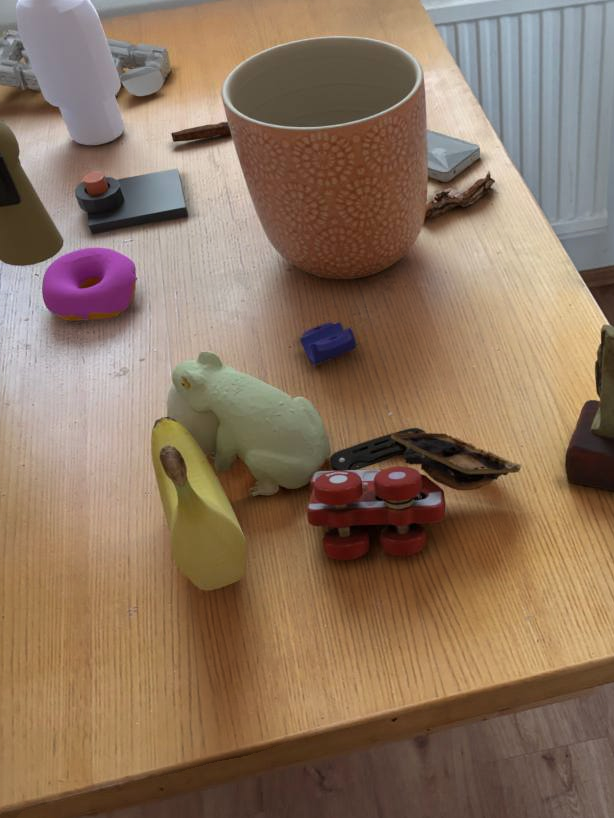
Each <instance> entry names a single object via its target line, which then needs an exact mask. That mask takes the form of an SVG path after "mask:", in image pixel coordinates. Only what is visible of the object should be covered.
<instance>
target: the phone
mask: <svg viewBox="0 0 614 818" xmlns="http://www.w3.org/2000/svg"><path fill="white" fill-rule="evenodd" d="M427 147H428V179H429V178H430V179H433V180H436V181H438V182H441V183H448V182H450V181H451V180H453V179H454V178H455V177H456V176H458V175H459V174H461V173H462V172H463V171H465V170H466V169H467V168H468V167H470V166H471V165H472V164H473V163H475V162H476V161H477V160H478V159H479V158H480V156H481V148H480V145H479V144H477V143H473V142H471V141H467V140H463V139H460V138H457V137H454V136H450V135H448V134H443V133H440V132H437V131H433V130H431V129H427Z"/></svg>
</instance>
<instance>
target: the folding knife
mask: <svg viewBox="0 0 614 818" xmlns="http://www.w3.org/2000/svg"><path fill="white" fill-rule="evenodd" d="M397 432H398V433H407V432H412V433H414V434H417V433H421V432H425V433H427V432H426V431H425V430H423V429H421V428H420V427H419V428H418V427H410V428H406V429H402V430H399V431H397ZM394 441H395V440H393V439H392V438H391V433H389V434H385V435H382V436H379V437H375V438H372V439H369V440H367V441H363V442H361V443H357V444H355V445H352V446H349V447H346V448H343V449H340V450H338V451H336V452H334V453H333V454H332V455H330V456H329V457H330V458H329V463H330V467H331V469H332V471H341V470H362V469H363V468H367V467H369V466H373V465H375V464H376V465H377V464H379V463H382V462H385V461H387V460H390V459H393V458H395V457H399V456H404V452H403V451H402V450H401V449H400V447H399V446H398V445H395V444H394Z"/></svg>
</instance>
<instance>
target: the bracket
mask: <svg viewBox="0 0 614 818" xmlns="http://www.w3.org/2000/svg"><path fill="white" fill-rule="evenodd" d="M299 341H300V343H301V345H302V348H303V350H304V352H305V354H306V356H307V357H308V359H309V361H310V363H311V364H312V366H314V367H315V366H318V365H320V364H323V363H325V362H327V361H330V360H332V359H334V358H337V357H339V356H343V355H344V354H347V353H349V352H351V351H353V350H356V349H357V342H356V341H357V340H356V338H355V334H354V331H353V328H352V327H348V328H346V329H344V327H343V325H342V323H341V322H340V321H338V322H336V323H334V322H327V323H323V324H320V325H318V326H315V327H312V328H309V329H308V330H306V331H304V332H303V333H302V337H299Z"/></svg>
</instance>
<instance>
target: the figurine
mask: <svg viewBox="0 0 614 818" xmlns="http://www.w3.org/2000/svg"><path fill="white" fill-rule="evenodd" d="M171 381H172V382H171V385H170V388H169V390H168V393H167V400H166V417H168V416H169V417H170V418H172V419H175V420H176V421H178V422H180V423H181V424H182V425H183V426H184V427H185V428H186V429H187V430H188V431H189V432H190V434H191V435H192V436H193V437H194V439H195V440H196V441H197V443H198V444H199V446H200V447H201V449H202V451H203V452H204V454H205V455H210V459H211V460H214V469H215V470H216V471H218V472H220V473H225V472H228V471H229V470H230V469H231V468H232V467H233V465H234V463H235V462H236V458H237V457H238V458H240V460H242V462H244V463H245V464H246V467H247V468H248V470H249V472H250V473H251V474H252V476H253V477H254V479H256V481H255V484H254V486H250V491H252V492H251V496H253V497H256V496H258V495H261V496H272V495H275V494H277V493H278V492H279V490H280V487H282V488H285V489H290V490H292V489H294V490H295V489H299V488H302V487H304V486H306V485H307V484H308V483H310V480H311V477H312V475H313V474H314V473H316V472H318V471H320V469H321V467H323V465H324V463H325V462H326V460H327V459H328V458H329V457H331V454H332V448H331V442H330V439H329V435H328V432H327V430H326V427H325V423H324V422H323V420H322V418H321V416H320V414H319V412H318V410H317V408H316V407H315V406H314V405H313V403H312V402H311V401H310V400H309V399H308V398H306V397H303V396H296V397H294V398H293V396H291V395H289V394H288V393H286V392H285V391H282V390H281V389H279V388H277V387H275V386H273V385H271V384H269V383H267V382H265V381H263V380H261V379H259V378H257V377H254V376H252V375H249V374H247V373H246V372H245V373H244V372H241V371H238V370H236V369H235V368H234V367H232V366H230V365H225V364H223V362H222V359H221V358H220V355H218V354H217V353H216V352H214V351H210V350H203V351H201V352H200V353H199V354H198V358H197V360H194V359H191V360H190V359H189V360H188V359H186V360H182V361H181V362H180V363H178V364H177V365H176V366H175V368H174V369H173V371H172V375H171Z"/></svg>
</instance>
